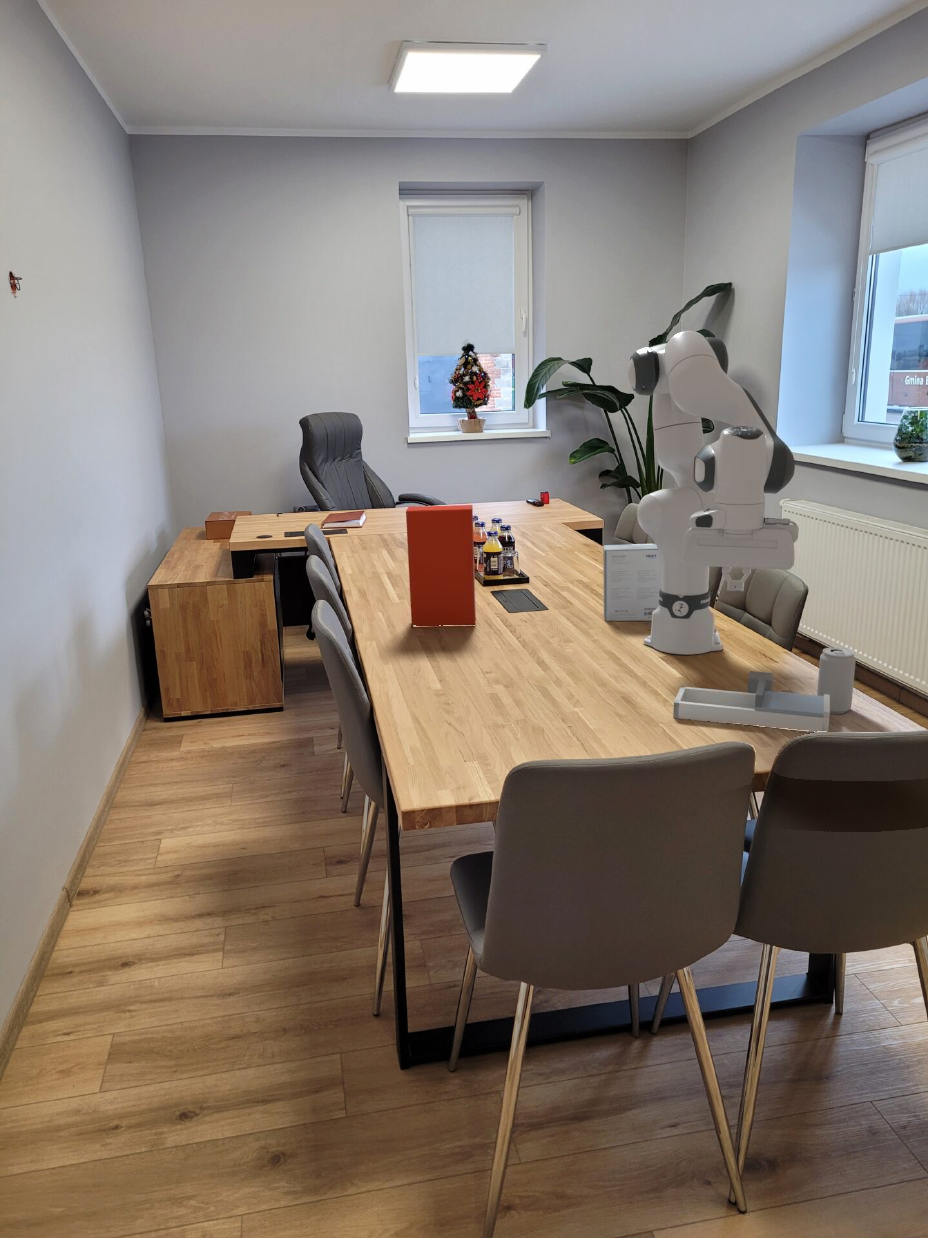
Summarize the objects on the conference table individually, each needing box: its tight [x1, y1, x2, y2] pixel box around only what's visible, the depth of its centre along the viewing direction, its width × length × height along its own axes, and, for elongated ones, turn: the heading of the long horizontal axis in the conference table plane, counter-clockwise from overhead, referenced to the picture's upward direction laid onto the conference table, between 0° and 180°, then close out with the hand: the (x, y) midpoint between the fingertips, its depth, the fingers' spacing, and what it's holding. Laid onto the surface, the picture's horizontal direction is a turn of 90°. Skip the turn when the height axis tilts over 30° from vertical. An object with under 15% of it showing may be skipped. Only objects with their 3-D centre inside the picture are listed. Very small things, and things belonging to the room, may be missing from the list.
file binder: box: [405, 504, 477, 626], centre depth 239 cm, size 8×17×32 cm, turn 88°
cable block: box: [746, 670, 774, 694], centre depth 180 cm, size 4×4×5 cm
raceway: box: [672, 686, 831, 733], centre depth 171 cm, size 10×28×4 cm, turn 68°
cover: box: [755, 679, 824, 717], centre depth 167 cm, size 10×12×3 cm
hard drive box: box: [602, 543, 661, 622], centre depth 240 cm, size 16×8×20 cm, turn 84°
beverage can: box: [816, 647, 857, 715], centre depth 172 cm, size 6×6×12 cm
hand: (735, 590), depth 166 cm, fingers closed
